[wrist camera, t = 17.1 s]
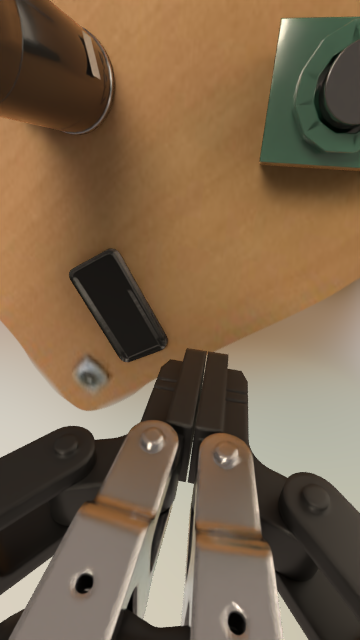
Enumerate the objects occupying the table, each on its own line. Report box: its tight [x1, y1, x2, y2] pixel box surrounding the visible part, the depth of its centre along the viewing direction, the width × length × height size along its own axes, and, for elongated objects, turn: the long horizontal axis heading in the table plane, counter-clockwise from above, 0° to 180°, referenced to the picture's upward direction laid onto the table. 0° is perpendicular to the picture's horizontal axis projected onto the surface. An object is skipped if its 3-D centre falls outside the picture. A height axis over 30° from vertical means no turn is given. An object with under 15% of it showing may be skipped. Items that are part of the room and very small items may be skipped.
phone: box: [69, 249, 168, 362], centre depth 43 cm, size 8×1×15 cm
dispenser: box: [259, 17, 360, 171], centre depth 25 cm, size 11×9×10 cm
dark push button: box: [319, 39, 360, 129], centre depth 20 cm, size 4×4×2 cm
